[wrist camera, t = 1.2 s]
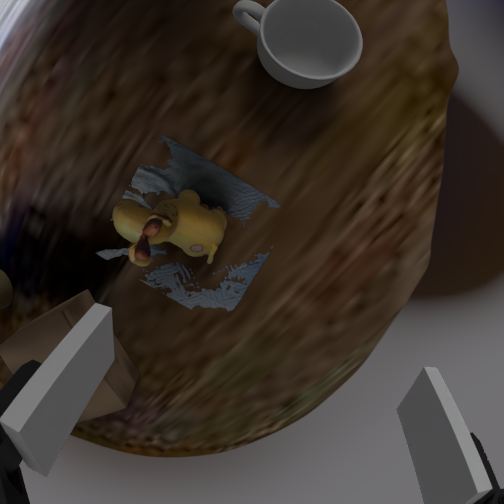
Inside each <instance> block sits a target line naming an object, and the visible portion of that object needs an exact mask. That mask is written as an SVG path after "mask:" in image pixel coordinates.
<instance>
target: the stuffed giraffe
mask: <svg viewBox="0 0 504 504" xmlns="http://www.w3.org/2000/svg"><path fill="white" fill-rule="evenodd" d="M161 136H162V139H161V140H159V141H158V142H159V143H162V141H164V140H166V142H167V145H168V147H170V151H171V155H172V156H174V158H172V159H169V160H167V162H168V163H169V164H170V167H169V168H166V169H165V171H163V170H162V169H159V168H154V167H153V166H143V164H141V165H140V166H139V167H138V169H137V171H136V173H135V175H134V177H133V179H132V182H131V184H132V187H133V188H137V189H139V191H140V192H141V195H142V193H146V194H147V193H148V192H152V191H153V192H157V195H159V194H160V191H162V190H163V191H166V192H167V193H169V194H170V195H173V196H175V197H176V196H177V195H178V198H174V199H169V200H163V201H161V202H160V203H159V204H158V205H157V206H156V207H155V209H154V210H152V209H151V207H150V206H149V205H147V204H146V202H147V200H146V202H143V201H144V199H142V196H140V195H138V196H137V195H136V194H132V192H129V191H127V190H126V191H125V193H124V195H123V197H122V198H124V199H125V198H127V199H126V200H122V199H121V200H122V201H120V202H119V203H118V204H117V205H116V206H115V208H114V211H113V218H112V219H111V220H114V226H115V228H116V230H117V232H118V233H119V234H121V235H122V236H123V237H124V238H125V239H127V240H129V241H131V242H133V243H135V244H133V246H131V247H130V248H129V249H128V250H127V249H126V248H123V249H119V250H116V249H114V250H106V249H105V251H100V252H97V254H98V255H99V256H101V257H103V258H105V259H106V260H109V259H110V258H113V257H118V256H121V255H122V254H125V255H128V257H129V259H130V261H131V262H132V263H133V264H134V265H136V266H138V267H146V266H149V264H150V262H153V258H152V257H151V256H150V255H155V254H156V253H159V254H160V253H163V254H165V255H166V254H168V253H167V252H166V249H163V250H161V249H159V248H158V247H155V246H154V245H152V244H159V243H162V242H164V241H165V242H171V243H173V244H175V245H176V246H178V247H180V248H182V249H183V251H184V252H185V253H186V254H188V255H190V256H193V257H196V256H203V255H204V254H206V255H209V256H208V260H207V263H208V264H211V263H212V262H213V258H214V256H213V255H214V254H215V252H216V250H217V248H218V245H219V244H220V243H221V241H222V240H223V237H224V231H225V229H226V226H227V220H226V217H225V215H224V213H223V212H222V211H221V210H220V209H218V208H217V206H220V207H222V208H223V210H224V211H226V213H227V215H230V216H231V217H241V216H243V217H245V218H243V217H242V218H240V219H241V220H244V219H246V218H250V216H248V215H249V214H248V213H251V212H252V208H255V206H256V202H257V204H258V205H259V204H260V201H263V202H264V201H265V200H267V202H268V204H269V205H268V207H280V206H281V205H278V204H279V203H278V204H277V202H276V201H274V200H273V199H271V198H269V197H268V196H266V195H265V194H263V193H261V192H260V191H258V190H257V189H255V188H253V187H252V186H250V185H249V184H247V183H245V182H244V181H242V180H240V179H239V178H237V177H235V176H234V175H232V174H231V173H229V172H227V171H226V170H224V169H222V168H220V167H219V166H217V165H215V164H214V163H212V162H210V161H209V160H207V159H205V158H204V157H202V156H200V155H198V154H197V153H195V152H193V151H191V150H190V149H188V148H186V147H184V146H183V145H181V144H179V143H177V142H176V141H174V140H172V139H170V138H169V137H167V136H165V135H163V134H161ZM133 185H134V186H133ZM147 191H148V192H147ZM127 192H128V193H127ZM145 198H146V197H145ZM200 203H204V204H207V205H208V207H209V209H208V210H207V209H205V208H204V207H202V206H200ZM254 210H255V209H254ZM243 223H244V224H245V222H243ZM244 224H243V225H244ZM248 226H249V225H248ZM244 227H245V225H244ZM250 228H251V226H250ZM232 231H233V230H232ZM272 248H273V246H272V247H271V249H272ZM123 250H126V251H123ZM269 253H270V252H268V253H267V254H265V255H264V256H263V255H262V254H258V255H257V257H258V258H259V260H255V261H254V263H252V262H250V264H249V266H248V265H247V264H246V263H244V262H243V264H242V265H241V266H240V267H237V266H236V264H235V267H236V270H234V268H232V265H230V266H231V270H232V271H231V272H232V273H231V272H230V271H229V275H228V278H229V279H231V277H234V278H235V276H236V275H238V276H237V278H238V279H239V280H240V279H241V278H244V277H245V280H243V281H242V282H243V283H246V282H247V285H246V284H239V282H232V280H231V281H230V282H227V281H226V280H224V282H223V283H220V285H221V287H222V290H221V289H220V287H219V288H218V289H216V291H213V290H211V289H209V290H206V289H204V288H203V289H202V292H194V291H193V292H188V291H187V294H185V292H186V290H185V289H184V287H183V286H182V285H181V284H180V280H179V278H178V275H177V274H176V276H175V277H176V278H174V275H173V273H176V272H178V270H180V272H181V274H182V275H183V276H182V277H183V282H184V283H186V282H187V281H186V280H185V275H184V272H183V270H182V268H181V267H180V264H179V263H178V262H177V263H176V265H177V268H176V266H175V265H173V263H169V264H167V265H163V266H160V268H161V269H157V270H155V271H154V272H151V273H150V276H149V275H148V274H147V275H145V277H148V279H147V281H148V282H145V281H143V280H141V279H139V280H140V281H142V282H144V283H145V284H147V285H149V286H151V287H153V288H155V287H163V288H164V289H165V288H166V287H169V288H171V289H172V292H171V293H167V295H166V296H168V297H169V298H171V299H173V300H174V301H175V300H176V301H177V302H178V303H180V304H182V305H184V306H185V307H187V308H189V309H191V310H192V308H193V307H194V306H196V305H200V306H201V307H203V308H206V307H212V308H217V307H221V308H226V309H227V311H230V310H234V308H235V306H236V305H237V304H238V302H239V301H240V299H241V298H242V296H243V295H244V293H245V291H246V289H247V288H248V286H249V284H250V283H251V281H252V280H253V278H254V277H255V275H256V274H257V272H258V271H259V269H260V267H261V266H262V264H263V262H264V261H265V259H266V257H267V256H268V254H269ZM254 256H256V255H254ZM155 257H156V256H155ZM244 264H245V265H244ZM172 265H173V266H172ZM182 267H183V269H184V270H185V272H186V274H187V276H188V278H189V279H190V278H191V277H190V274H189V273H188V270H187V269H186V268H185V267H184V265H183V264H182ZM154 268H159V267H154ZM226 268H227V269H228V270H229V268H228V267H227V266H226ZM189 269H190V268H189ZM190 270H191V269H190ZM223 270H225V269H223ZM143 271H145V269H143ZM191 271H192V270H191ZM195 271H196V270H195ZM146 272H148V271H146ZM160 272H161V273H160ZM180 272H179V273H180ZM218 272H220V271H218ZM154 273H156V274H154ZM191 273H192V272H191ZM197 273H200V272H197ZM164 274H166V275H164ZM192 274H193V273H192ZM212 274H215V272H214V273H212ZM231 274H232V275H231ZM180 276H181V275H180ZM226 278H227V277H226V276H225V279H226ZM154 279H156V281H155V282H156V283H160V282H161V284H160V285H159V286H158V285H150V284H154V283H155V282H154V281H151V282H149V280H154ZM193 279H195V277H193ZM220 281H221V280H220ZM176 282H178V283H179V285H180V288H181V289H180V288H179V287H178V286H177V284H176ZM196 284H199V283H196ZM164 285H166V286H164ZM193 285H194V284H192V283H190V284H189V286H193ZM217 285H218V284H217ZM228 285H230V286H232V287H231V288H229V290H228V291H226V287H227V286H228ZM187 287H188V285H187ZM244 287H245V289H244ZM163 288H162V289H163ZM174 288H176V290H175V289H174ZM194 288H195V287H194ZM197 288H199V286H197ZM156 290H158V289H156ZM218 290H219V291H220V292H218ZM234 290H236V291H237V292H240V293H238V294H237V293H235V292H234ZM163 294H164V292H163ZM189 294H191V295H192V296H191V297H188V295H189Z"/></svg>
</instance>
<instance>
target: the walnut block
mask: <svg viewBox="0 0 504 504" xmlns="http://www.w3.org/2000/svg"><path fill="white" fill-rule="evenodd" d="M94 304H95V301H94V299H93V297H92V296H91V294H90V292H89V290H88V289H87V290H85V291H83V292H81V293H80V294H78V295H76V296H74V297H72V298H71V299H69V300H67V301H65V302H63V303H62V304H60V305H58V306H56V307H55V308H53V309H51V310H49V311H48V312H46V313H44V314H42V315H41V316H39V317H37V318H35V319H34V320H32V321H30V322H29V323H27V324H25V325H24V326H23V327H21V328H20V329H19V330H18V331H16V332H15V333H14V334H13V335H11V336H10V337H9V338H8V339H6V340H5V341H4V342H3V343H1V344H0V356H1V357H2V359H3V360H4V362H5V363H6V365H7V367H8V368H9V370H10V371H11V373H12V374H13V375H14V374H15V372H16V371H17V370H18V369H19V368H20V367H21V366H22V365H23V364H25V363H27V362H29V361H31V360H32V359H33V360H36V361H38V362H40V363H42V364H43V363H44V361H45V360H46V359H47V358H48V357H49V355H50V354H51V353H52V352H53V351H54V349H55V348H56V347H57V346H58V345H59V344H60V342H61V341H62V340H63V339H64V338H65V337H66V335H67V334H68V333H69V332H70V331H71V330H72V329H73V327H74V326H75V325H76V324H77V323H78V322H79V321H80V319H81V318H82V317H83V316H84V315H85V314H86V313H87V312H88V311H89V309H90V308H91V307H92V306H93V305H94ZM113 341H114V355H115V359H114V361H113V363H112V364H111V366H110V367H109V369H108V371H107V372H106V374H105V376H104V377H103V379H102V380H101V382H100V384H99V385H98V387H97V389H96V390H95V392H94V394H93V395H92V397H91V399H90V400H89V402H88V404H87V405H86V407H85V409H84V411H83V412H82V414H81V416H80V417H79V419H78V421H77V423H80V422H83V421H87V420H90V419H93V418H97V417H100V416H103V415H106V414H110V413H113V412H116V411H119V410H122V409H125V408H127V405H128V402H129V400H130V397H131V395H132V392H133V389H134V387H135V384H136V382H137V379H138V377H139V374H140V372H139V370H138V369H137V368H136V366H135V365H134V363H133V362H132V360H131V359H130V357H129V356H128V354H127V353H126V351H125V350H124V348H123V347H122V345H121V344H120V342H119V341H118V339H117V337H116V336H115V334H114V333H113Z"/></svg>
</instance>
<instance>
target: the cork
mask: <svg viewBox="0 0 504 504" xmlns="http://www.w3.org/2000/svg"><path fill="white" fill-rule="evenodd" d="M12 299H13V290H12V285H11V282H10V280H9V278H8V277H7V275H6V274H5V273H4V272H3V271H2V270H0V310H1V309H4V308H6V307H8V306H9V305H10V304H11V302H12Z"/></svg>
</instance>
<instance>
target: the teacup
mask: <svg viewBox="0 0 504 504" xmlns="http://www.w3.org/2000/svg"><path fill="white" fill-rule="evenodd" d="M246 12H247V13H250V14H252V15H253V16H255V17H256V19H257V20H258V21H256V20H255V19H253V18H252V17H250V16H249V15H248V14H247V13H246ZM233 16H234V18H235V19H236V20H237V21H238V22H239V23H240V24H241V25H243V26H244V27H245V28H247V29H248V30H250V31H251V32H253V33H254V34H255V35H256V36H257V37H258V38H257V51H258V56H259V59H260V61H261V63H262V65H263V67H264V68H265V70H266V71H267V72H268V73H269V74H270V75H271V76H272V77H273V78H275V79H276V80H277V81H279V82H281V83H283V84H285V85H287V86H290V87H294V88H299V89H313V88H318V87H322V86H324V85H327V84H329V83H331V82H332V81H334V80H336V79H337V78H338V77H340V76H342V75H344V74H346V73H347V72H348V71H350V70H351V69H352V68H353V67H354V66H355V65H356V63H357V62H358V60H359V58H360V56H361V52H362V46H363V40H362V35H361V31H360V29H359V27H358V25H357V23H356V21H355V19H354V18H353V17H352V15H351V14H350V13H349V12H348V11H347V10H346V9H345V8H344V7H343V6H341V5H340V4H339V3H337V2H336V1H334V0H275V1H274V2H272V3H271V4H270V5H269V6H268V7H267V9H265V8H264V7H262V6H261V5H260V4H258V3H256V2H253V1H250V0H242V1H239V2H238V3H237V4H236V5H235V6H234V8H233Z"/></svg>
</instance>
